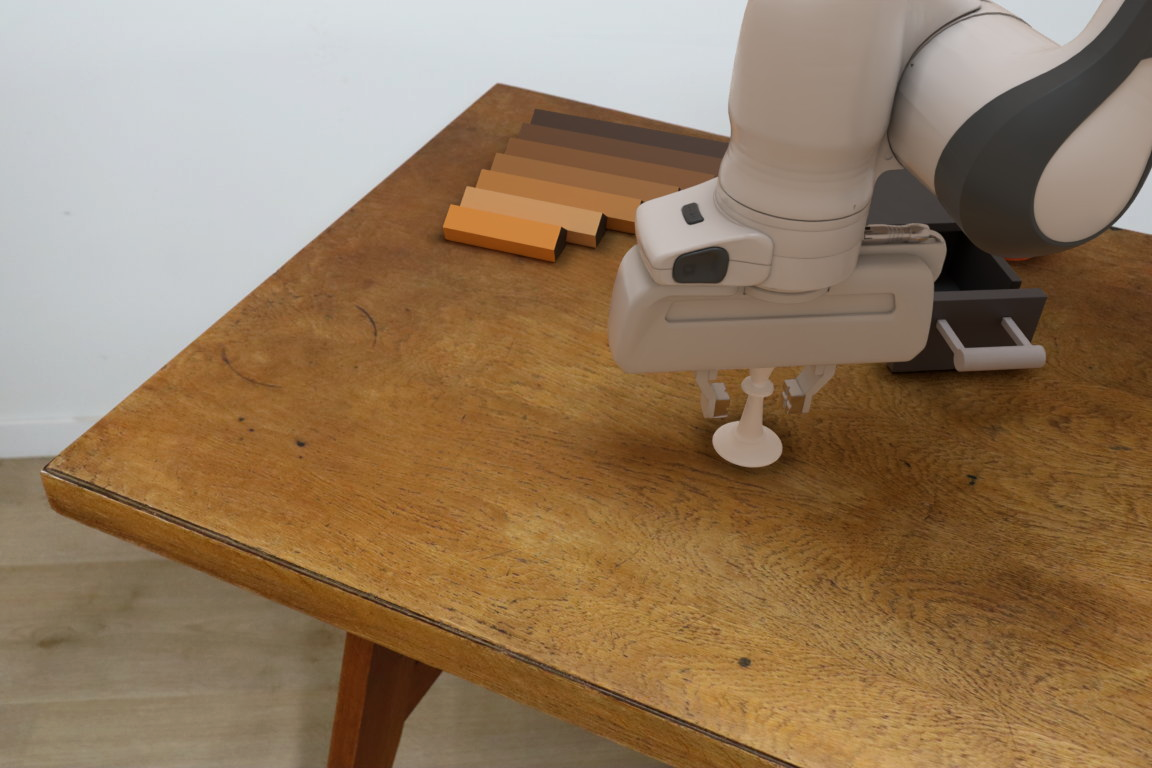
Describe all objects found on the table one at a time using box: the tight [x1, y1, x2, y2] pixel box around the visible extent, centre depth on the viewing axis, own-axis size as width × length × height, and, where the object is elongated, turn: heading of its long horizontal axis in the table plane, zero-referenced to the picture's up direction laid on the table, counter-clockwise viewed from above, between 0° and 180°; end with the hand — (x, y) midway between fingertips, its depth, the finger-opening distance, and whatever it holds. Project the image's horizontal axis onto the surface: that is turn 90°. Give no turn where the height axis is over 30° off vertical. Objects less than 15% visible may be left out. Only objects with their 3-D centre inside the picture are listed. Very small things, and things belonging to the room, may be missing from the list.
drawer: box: [886, 231, 1048, 373], centre depth 84 cm, size 18×10×6 cm, turn 7°
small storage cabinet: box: [866, 168, 962, 232], centre depth 94 cm, size 14×12×8 cm
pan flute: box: [442, 108, 729, 263], centre depth 101 cm, size 25×3×25 cm
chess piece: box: [711, 367, 783, 468], centre depth 73 cm, size 5×5×10 cm
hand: (753, 410), depth 74 cm, fingers open, 4 cm apart
